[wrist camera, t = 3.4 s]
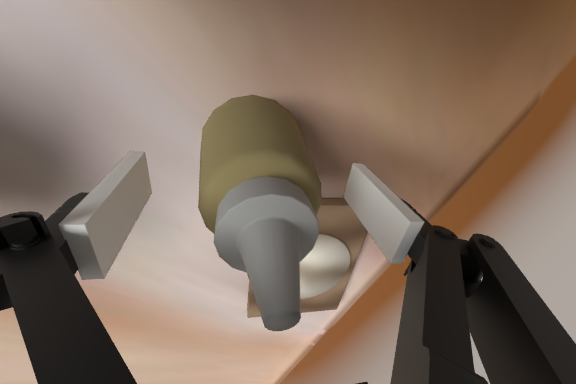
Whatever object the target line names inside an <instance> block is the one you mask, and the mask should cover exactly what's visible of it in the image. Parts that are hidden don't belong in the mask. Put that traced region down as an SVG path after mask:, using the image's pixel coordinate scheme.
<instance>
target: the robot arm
mask: <svg viewBox="0 0 576 384" xmlns="http://www.w3.org/2000/svg"><path fill="white" fill-rule="evenodd" d="M151 194H152V190H151V184H150V179H149V173H148V167H147V161H146V155H145V152H137V151H130V152H129V153H128V154H127V155H126V156H125V157H124V158H123V159H122V160H121V161H120V162H119V163H118V164H117V165H116V166H115V167H114V168H113V169H112V170H111V171H110V172H109V173H108V174H107V175H106V176H105V177H104V178H103V179H102V180H101V181H100V182H99V183H98V185H97V186H96V187H95V188H94V189H93V190H92V191H91V192H90V193H79V194H77V195H75V196H73V197H71V198H69V199H68V200H67V201H66V202H65V203H64V204H63V205H62V207H60V208H59V209H57V210H56V211H55V213H53V214H52V215H51V216H50V217H49V218H48V219H47V220H46V221H44V218H43V216H42V215H41V214H39V213H37V212H18V213H13V214H9V215H6V216H3V217H0V311H1V310H4V309H8V308H11V307H13V308H14V311H15V314H16V317H17V320H18V323H19V327H20V330H21V333H22V336H23V339H24V342H25V345H26V348H27V351H28V354H29V357H30V361H31V364H32V367H33V370H34V373H35V376H36V379H37V382H38V384H137V383H136V381H135V379H134V378H133V376H132V374H131V372H130V371H129V369H128V367H127V365H126V364H125V362H124V360H123V359H122V357H121V355H120V353H119V352H118V350H117V348H116V346H115V345H114V343H113V341H112V339H111V338H110V336H109V334H108V333H107V331H106V329H105V327H104V326H103V324H102V322H101V320H100V319H99V317H98V315H97V313H96V312H95V310H94V308H93V306H92V305H91V303H90V301H89V300H88V298H87V296H86V294H85V293H84V291H83V289H82V287H81V286H80V284H79V282H78V280H77V279H76V277H75V275H74V274H75V273H76V271H77V270H78V271H79V274H80V276H81V278H82V280H86V279H104V278H105V276H106V275H107V273H108V271H109V269H110V267H111V266H112V264H113V262H114V260H115V258H116V257H117V255H118V253H119V251H120V249H121V248H122V246H123V244H124V242H125V240H126V239H127V237H128V235H129V233H130V231H131V230H132V228H133V226H134V224H135V222H136V221H137V219H138V217H139V215H140V213H141V212H142V210H143V208H144V206H145V204H146V203H147V201H148V199H149V197H150V195H151ZM343 197H344V198H345V200H346V201H347V203H348V204H349V206H350V207H351V208H352V210H353V211H354V213H355V214H356V216H357V217H358V218H359V220H360V221H361V223H362V224H363V226H364V227H365V228H366V230H367V231H368V233H369V234H370V235H371V237H372V238H373V240H374V241H375V243H376V244H377V245H378V247H379V248H380V250H381V251H382V253H383V254H384V255H385V257H386V258H387V260H388V261H389V263H390V264H393V263H403V262H404V260H405V258H406V256H407V254H408V255H409V257H410V258H411V259H412V260H411V262H410V264H409V266H408V268H407V269H406V271H405V273H404V276H406V274H407V281H406V288H405V294H404V301H403V307H402V313H401V320H400V326H399V333H398V339H397V345H396V352H395V358H394V365H393V371H392V378H391V384H488V382H487V381H486V380H485V379H484V378H483V377H481V376H479V375H478V374H476V373H475V371H474V364H473V356H472V348H471V340H470V333H471V335H472V338H473V341H474V343H475V346H476V348H477V350H478V353H479V356H480V358H481V361H482V363H483V366H484V368H485V371H486V374H487V376H488V379H489V381H490V384H576V344H575V342H574V341H573V340H572V338H571V337H570V336H569V335H568V334H567V332H566V330H565V329H564V328H563V326H562V325H561V324H560V323H559V321H558V320H557V319H556V317H555V316H554V315H553V313H552V312H551V311H550V309H549V308H548V307H547V305H546V304H545V303H544V301H543V300H542V299H541V297H540V296H539V295H538V293H537V292H536V291H535V289H534V288H533V287H532V285H531V284H530V283H529V281H528V280H527V279H526V277H525V276H524V275H523V273H522V272H521V271H520V269H519V268H518V267H517V265H516V264H515V263H514V261H513V260H512V259H511V257H510V256H509V255H508V253H507V252H506V251H505V249H504V248H503V247H502V246H501V245H500V244H499V243H498V242H497V241H495V240H494V239H493V238H490V237H489V236H485V235H482V234H473V235H472V237H471V238H470V239H469V241H467V240H462V239H458V238H457V236H456V235H455V234H454V233H453V232H451V231H450V230H448V229H446V228H444V227H441V226H435V225H433V226H432V225H431V224H430V223H429V222H428V221H427V220H426V219H425V218H423V217H422V216H421V215H420V214H419V213H417V211H416V210H415V209H413V207H412V206H410V205H409V204H408V203H407V202H406V201H404V200H402V199H401V198H399V197H398V196H397V195H395V194H394V193H393V192H392V191H391V190H390V189H389V188H388V187H387V186H386V185H385V184H384V183H383V182H382V181H381V180H380V179H379V178H378V177H376V176H375V175H374V174H373V173H372V172H371V171H370V170H369V169H368V168H367V167H366V166H365V165H364V164H361V163H353V164H352V168H351V171H350V175H349V178H348V181H347V185H346V188H345V192H344V195H343ZM482 277H483V279H482V282H481V278H482ZM469 330H470V331H469ZM357 384H368V383H367V382H363V383H357Z"/></svg>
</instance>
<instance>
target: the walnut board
mask: <svg viewBox="0 0 576 384" xmlns="http://www.w3.org/2000/svg"><path fill="white" fill-rule="evenodd" d="M321 199H322V203H321V205H320V208H319V210H318V213H317V215H316V216H317V218H318V225H319V236H318V238H317V241H316V243H315V245H314V248H313V249H312V250H311V252H310V253H309V254H308V255H307V256H306V257H305V258H304V259H303V260H302V261H301V262H300V311H301V313H303V312H313V311H324V310H335V309H337V307H338V305H339V302H340V300H341V297H342V295H343V292H344V290H345V287H346V285H347V282H348V280H349V277H350V275H351V272H352V270H353V267H354V265H355V262H356V259H357V257H358V254H359V252H360V249H361V247H362V244H363V242H364V239H365V237H366V234H367V232H368V231H367V230H366V228H365V227H364V226H363V224H362V223H361V221H360V220H359V218H358V217H357V216H356V214H355V213H354V211H353V210H352V208H351V207H350V206H349V204H348V203H347V201H346V200H345V198H321ZM247 316H248V318H250V317H261V314H260V311H259V308H258V305H257V302H256V298H255V295H254V292H253V289H252V286H251V283H250V281H249V292H248V304H247Z"/></svg>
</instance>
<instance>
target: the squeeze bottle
mask: <svg viewBox="0 0 576 384" xmlns="http://www.w3.org/2000/svg"><path fill="white" fill-rule="evenodd" d="M321 203H322V199H321V183H320V180H319V177H318V175H317V172H316V170H315V167H314V164H313V162H312V159H311V156H310V154H309V151H308V148H307V146H306V143H305V141H304V138H303V135H302V133H301V130H300V128H299V126H298V125H297V123H296V121H295V119H294V117H293V115H292V114H291V112H289V111H288V110H287V109H285V108H284V107H283V106H281V105H280V104H279V103H278V102H276V101H275V100H272V99H268V98H264V97H260V96H256V95H249V96H243V97H237V98H232V99H230V100H229V101H227V102H226V103H224V104H223V105H221V106H220V107H218V108H217V109H215V110H214V111H213V112H212V114H211V116H210V117H209V119H208V120H207V122H206V124H205V125H204V127H203V131H202V142H201V157H200V181H199V206H198V208H199V211H200V213H201V215H202V218H203V220H204V223H205V225H206V227H207V228H208V229H209V230H210V231H211V232H212V233H214V244H215V247H216V249H217V252H218V254H219V257H221V258H222V259H223V260H224V261H225V262H226V263H228V264H229V265H230V266H231V267H232V268H235V269H238V270H241V271H244V272H247V274H248V277H249V280H250V283H251V286H252V289H253V292H254V295H255V298H256V302H257V305H258V308H259V311H260V314H261V317H262V320H263V323H264V326H265V328H267V329H268V330H272V331H283V330H287V329H290V328H292V327H294V326H295V325H296V324H297V323H298V322H299V320H300V318H301V311H300V262H301V261H302V260H303V259H304V258H305V257H306V256H307V255H308V254H309V253H310V252H311V250H312V249H313V248H314V245H315V243H316V241H317V238H318V236H319V225H318V218H317V216H316V215H317V213H318V210H319V208H320V205H321Z"/></svg>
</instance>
